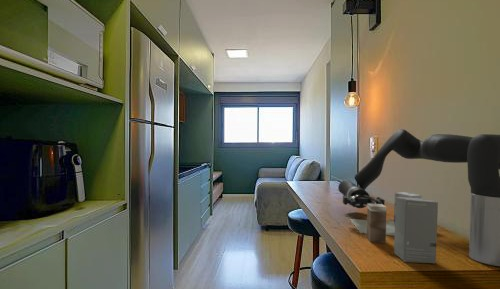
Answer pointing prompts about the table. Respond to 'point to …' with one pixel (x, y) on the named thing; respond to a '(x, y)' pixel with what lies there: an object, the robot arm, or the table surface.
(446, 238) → the table surface
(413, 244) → the skincare box
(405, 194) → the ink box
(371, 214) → the walnut block
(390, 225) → the mat
